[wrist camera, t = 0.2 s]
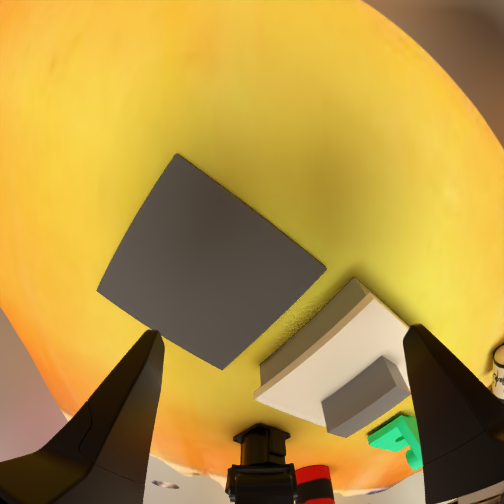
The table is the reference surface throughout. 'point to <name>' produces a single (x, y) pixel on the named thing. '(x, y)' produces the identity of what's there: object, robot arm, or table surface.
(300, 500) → the soda can
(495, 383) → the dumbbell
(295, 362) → the lid
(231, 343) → the rubber mat
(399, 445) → the camera mount
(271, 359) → the storage box
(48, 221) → the table surface
